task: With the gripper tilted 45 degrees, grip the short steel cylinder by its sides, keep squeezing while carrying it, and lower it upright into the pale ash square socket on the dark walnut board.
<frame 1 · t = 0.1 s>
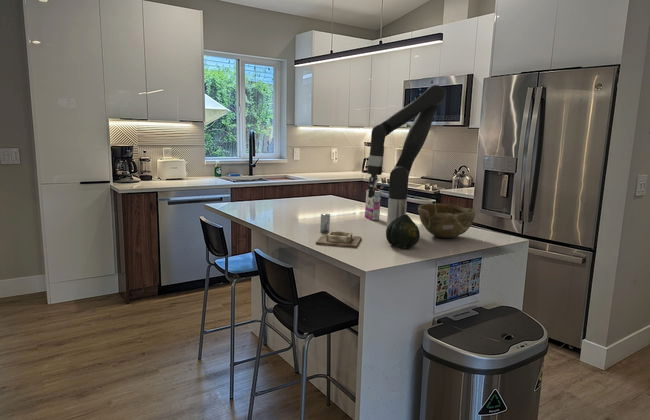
hand: (371, 196, 229), 17 cm above the countertop, tool pointing down, fingers open, 8 cm apart
candy bar box: (371, 219, 261), on the countertop
bowl: (444, 237, 221), on the countertop
steel cylinder: (324, 232, 221), on the countertop
socket board: (339, 241, 204), on the countertop
squash: (401, 246, 200), on the countertop
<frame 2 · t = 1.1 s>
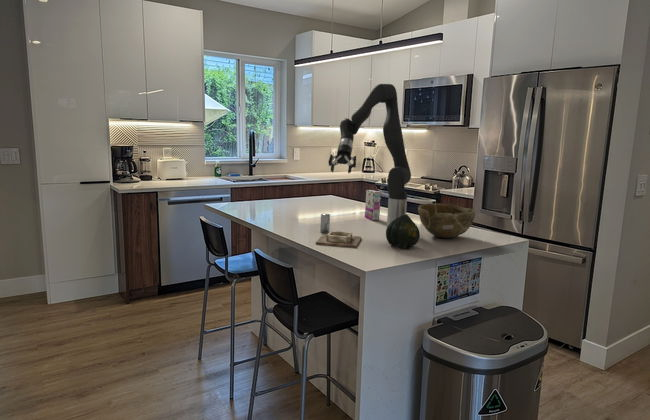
hand: (340, 171, 230), 29 cm above the countertop, tool tilted 45°, fingers open, 8 cm apart
nothing on the countertop moved.
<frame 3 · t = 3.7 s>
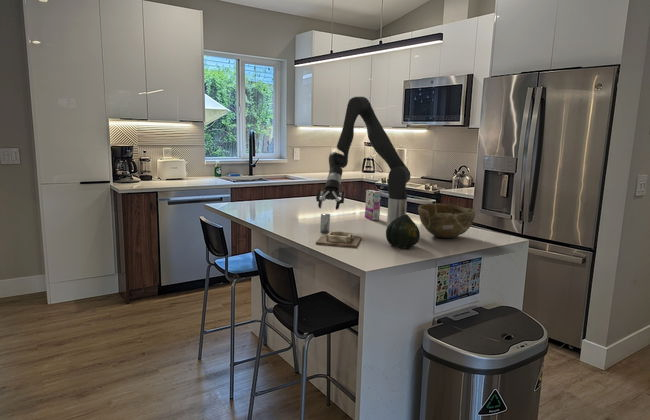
hand: (328, 208, 226), 11 cm above the countertop, tool tilted 45°, fingers open, 8 cm apart
nothing on the countertop moved.
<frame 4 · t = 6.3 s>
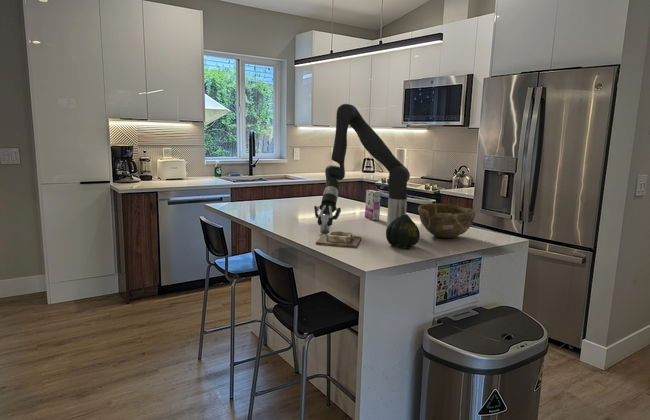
hand: (324, 224, 219), 4 cm above the countertop, tool tilted 45°, fingers closed on steel cylinder, 4 cm apart
steel cylinder: (324, 232, 221), on the countertop, touching gripper
everything else where it was.
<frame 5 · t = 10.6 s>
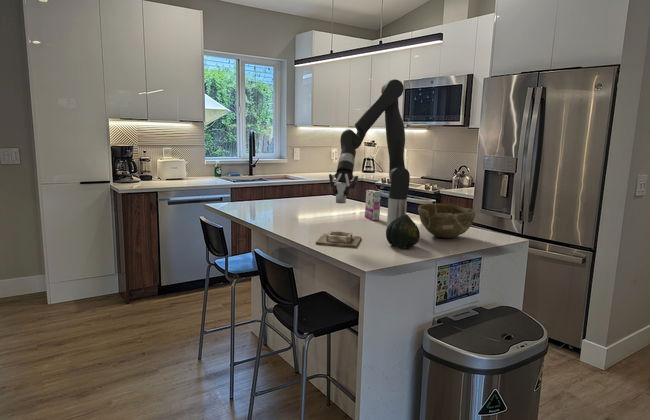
hand: (340, 194, 198), 22 cm above the countertop, tool tilted 45°, fingers closed on steel cylinder, 4 cm apart
steel cylinder: (340, 202, 201), point 18 cm above the countertop, touching gripper
everything else where it was.
when the fingers open (7 cm above the countertop, at t = 14.8 s): steel cylinder drops 1 cm, resting on socket board.
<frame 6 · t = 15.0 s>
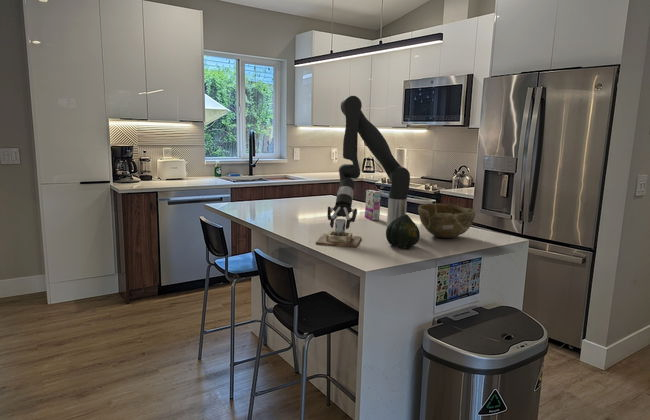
hand: (339, 227, 201), 7 cm above the countertop, tool tilted 45°, fingers open, 6 cm apart
steel cylinder: (339, 239, 204), point 1 cm above the countertop, touching socket board
everything else where it was.
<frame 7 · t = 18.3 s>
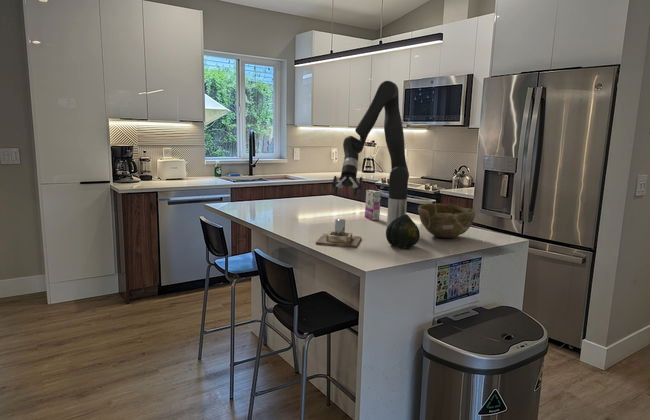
hand: (345, 195, 211), 20 cm above the countertop, tool tilted 45°, fingers open, 8 cm apart
nothing on the countertop moved.
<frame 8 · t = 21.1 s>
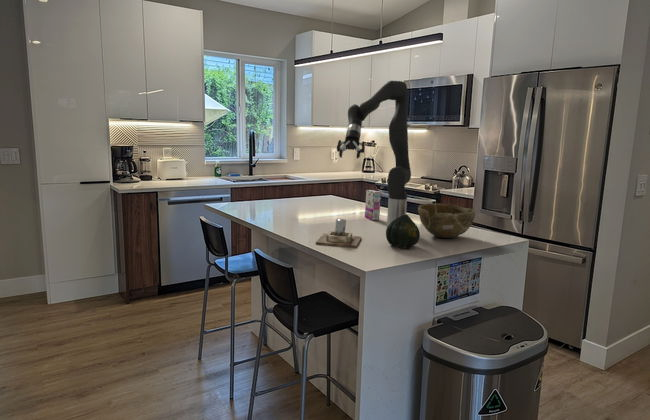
hand: (349, 157, 229), 37 cm above the countertop, tool tilted 45°, fingers open, 8 cm apart
nothing on the countertop moved.
at the end: steel cylinder 0.1 cm off-centre on the socket board, point 1.1 cm above the socket board's base; steel cylinder tilted 2°; the gripper is holding nothing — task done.
